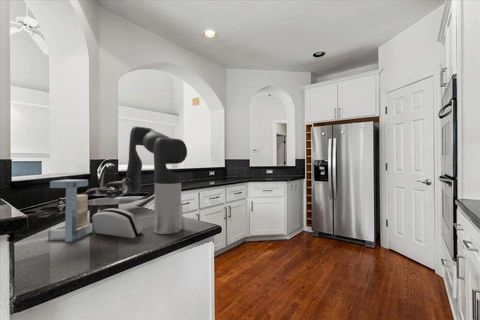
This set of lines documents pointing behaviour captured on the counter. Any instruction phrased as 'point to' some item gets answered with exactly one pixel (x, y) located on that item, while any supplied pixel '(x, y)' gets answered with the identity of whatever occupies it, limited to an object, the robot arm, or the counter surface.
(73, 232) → the grey i-shaped block
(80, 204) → the link
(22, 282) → the counter surface
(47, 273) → the counter surface
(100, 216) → the gray curved wedge
